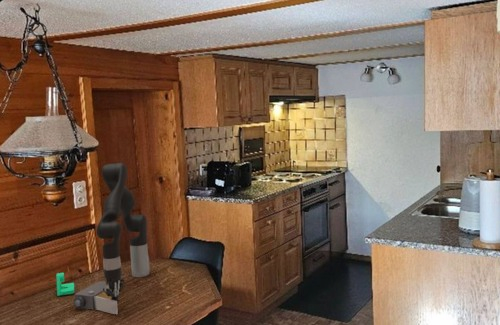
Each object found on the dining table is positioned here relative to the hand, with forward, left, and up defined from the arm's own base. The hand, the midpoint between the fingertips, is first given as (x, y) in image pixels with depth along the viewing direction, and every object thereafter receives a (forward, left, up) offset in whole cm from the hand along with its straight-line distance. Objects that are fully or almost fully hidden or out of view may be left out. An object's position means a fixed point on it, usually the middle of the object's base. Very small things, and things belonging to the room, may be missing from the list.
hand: (115, 303), depth 222 cm
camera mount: (-13, -40, -4) cm, 42 cm away
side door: (+3, -4, -3) cm, 6 cm away
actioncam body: (-6, -16, -3) cm, 17 cm away
